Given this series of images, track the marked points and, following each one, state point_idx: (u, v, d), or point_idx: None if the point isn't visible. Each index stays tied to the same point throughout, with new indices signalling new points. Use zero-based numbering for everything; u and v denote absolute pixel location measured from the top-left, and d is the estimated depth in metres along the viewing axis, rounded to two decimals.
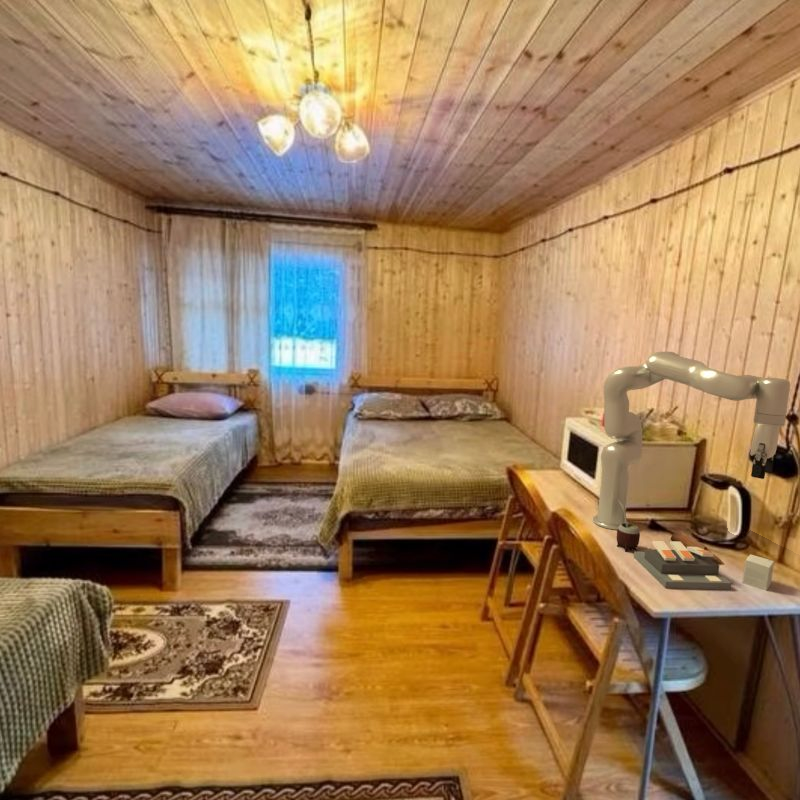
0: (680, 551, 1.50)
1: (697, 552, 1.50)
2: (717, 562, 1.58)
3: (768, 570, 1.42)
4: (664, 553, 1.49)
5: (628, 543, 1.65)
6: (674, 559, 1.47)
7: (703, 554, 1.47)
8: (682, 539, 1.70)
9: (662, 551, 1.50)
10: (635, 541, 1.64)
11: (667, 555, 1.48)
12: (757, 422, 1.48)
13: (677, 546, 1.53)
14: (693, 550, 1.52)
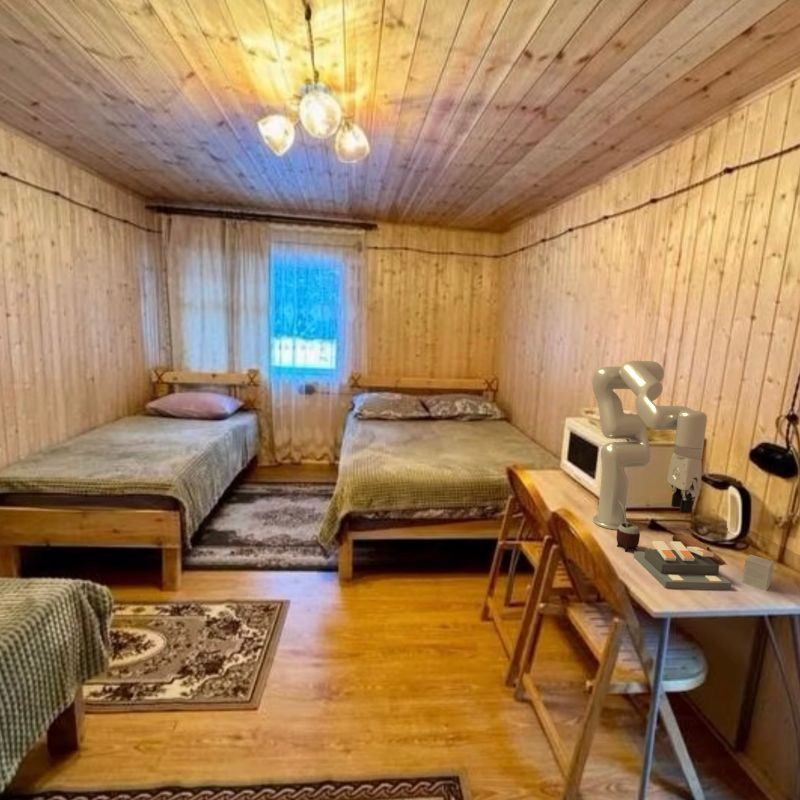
0: (680, 551, 1.50)
1: (697, 552, 1.50)
2: (720, 562, 1.58)
3: (768, 570, 1.42)
4: (664, 553, 1.49)
5: (628, 543, 1.65)
6: (674, 559, 1.47)
7: (703, 554, 1.47)
8: (684, 539, 1.70)
9: (662, 551, 1.50)
10: (635, 541, 1.64)
11: (667, 555, 1.48)
12: (686, 456, 1.47)
13: (677, 546, 1.53)
14: (693, 550, 1.52)
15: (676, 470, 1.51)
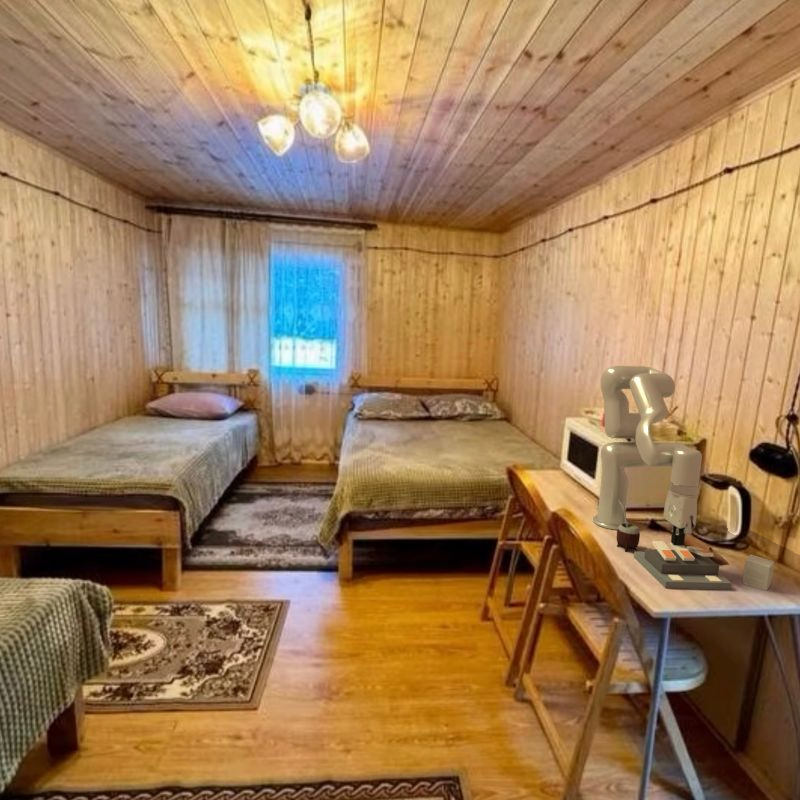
0: (680, 551, 1.50)
1: (697, 552, 1.50)
2: (722, 562, 1.58)
3: (768, 570, 1.42)
4: (664, 553, 1.49)
5: (628, 543, 1.65)
6: (674, 559, 1.47)
7: (703, 554, 1.47)
8: (686, 539, 1.70)
9: (662, 551, 1.50)
10: (635, 541, 1.64)
11: (667, 555, 1.48)
12: (681, 494, 1.48)
13: (677, 546, 1.53)
14: (693, 550, 1.52)
15: (672, 507, 1.52)
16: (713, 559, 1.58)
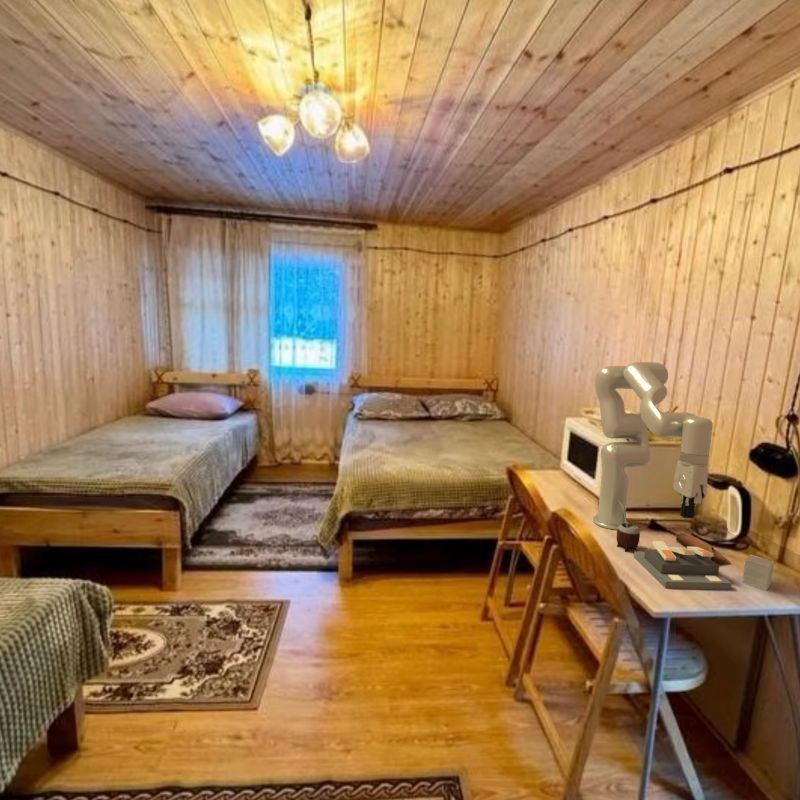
0: (680, 549, 1.50)
1: (697, 552, 1.50)
2: (725, 562, 1.58)
3: (768, 570, 1.42)
4: (664, 553, 1.49)
5: (628, 543, 1.65)
6: (674, 559, 1.47)
7: (703, 554, 1.47)
8: (688, 539, 1.70)
9: (662, 551, 1.50)
10: (635, 541, 1.64)
11: (667, 555, 1.48)
12: (691, 463, 1.46)
13: (676, 548, 1.53)
14: (693, 550, 1.52)
15: (682, 477, 1.50)
16: (716, 559, 1.58)
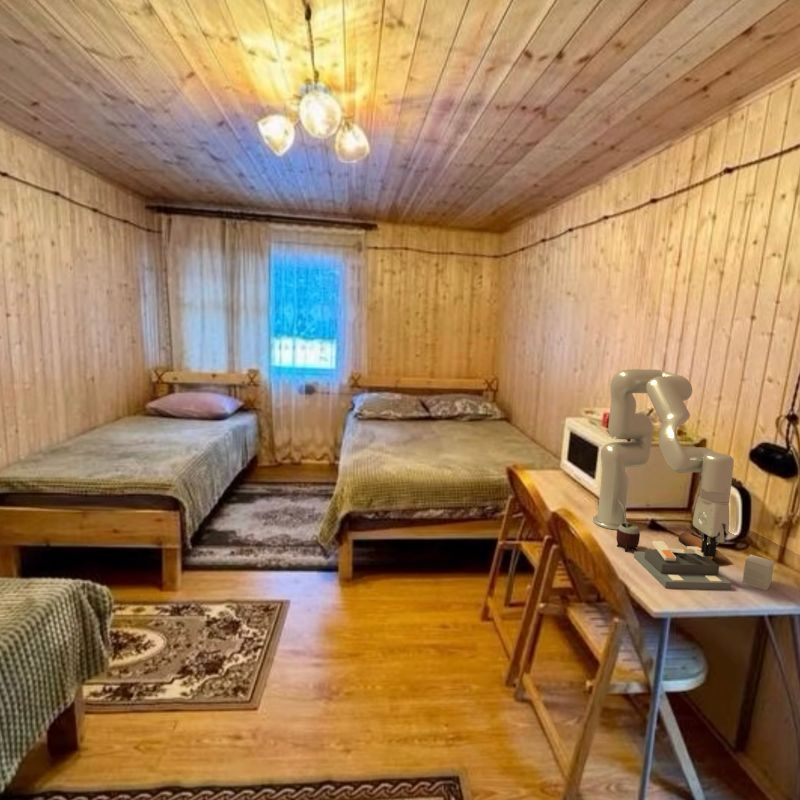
0: (679, 549, 1.50)
1: (697, 552, 1.50)
2: (726, 562, 1.58)
3: (768, 570, 1.42)
4: (664, 553, 1.49)
5: (628, 543, 1.65)
6: (674, 559, 1.47)
7: (703, 554, 1.47)
8: (690, 539, 1.70)
9: (662, 551, 1.50)
10: (635, 541, 1.64)
11: (667, 555, 1.48)
12: (713, 501, 1.42)
13: None
14: None
15: (702, 515, 1.46)
16: (717, 559, 1.58)
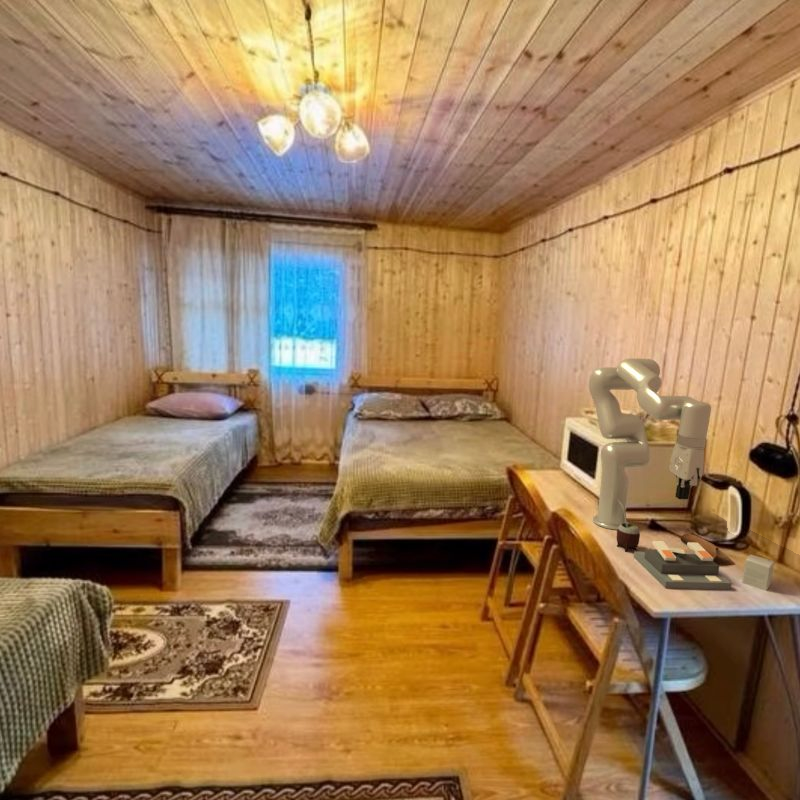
0: (680, 549, 1.50)
1: (697, 554, 1.50)
2: (729, 563, 1.58)
3: (768, 570, 1.42)
4: (664, 553, 1.49)
5: (628, 543, 1.65)
6: (674, 559, 1.47)
7: (703, 559, 1.47)
8: (692, 539, 1.70)
9: (662, 551, 1.50)
10: (635, 541, 1.64)
11: (667, 555, 1.48)
12: (689, 447, 1.48)
13: (676, 548, 1.53)
14: (693, 549, 1.52)
15: (678, 460, 1.52)
16: (720, 559, 1.58)
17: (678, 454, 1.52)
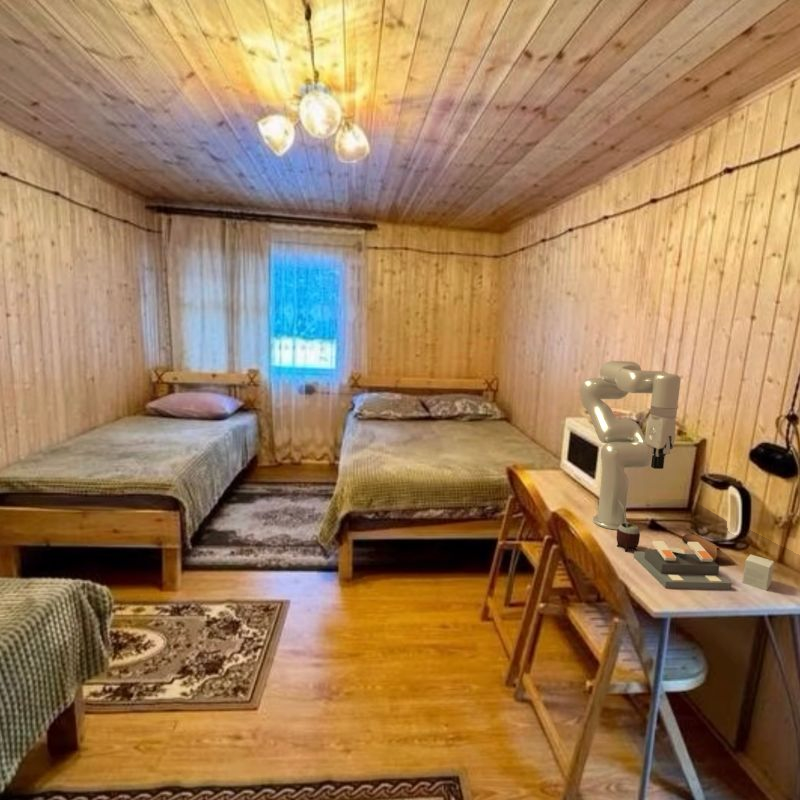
0: (680, 549, 1.50)
1: (697, 554, 1.50)
2: (730, 563, 1.58)
3: (768, 570, 1.42)
4: (664, 553, 1.49)
5: (628, 543, 1.65)
6: (674, 559, 1.47)
7: (702, 559, 1.48)
8: (693, 539, 1.70)
9: (662, 551, 1.50)
10: (635, 541, 1.64)
11: (667, 555, 1.48)
12: (660, 416, 1.56)
13: (676, 548, 1.53)
14: (693, 549, 1.52)
15: (652, 430, 1.60)
16: (721, 559, 1.58)
17: (652, 425, 1.60)
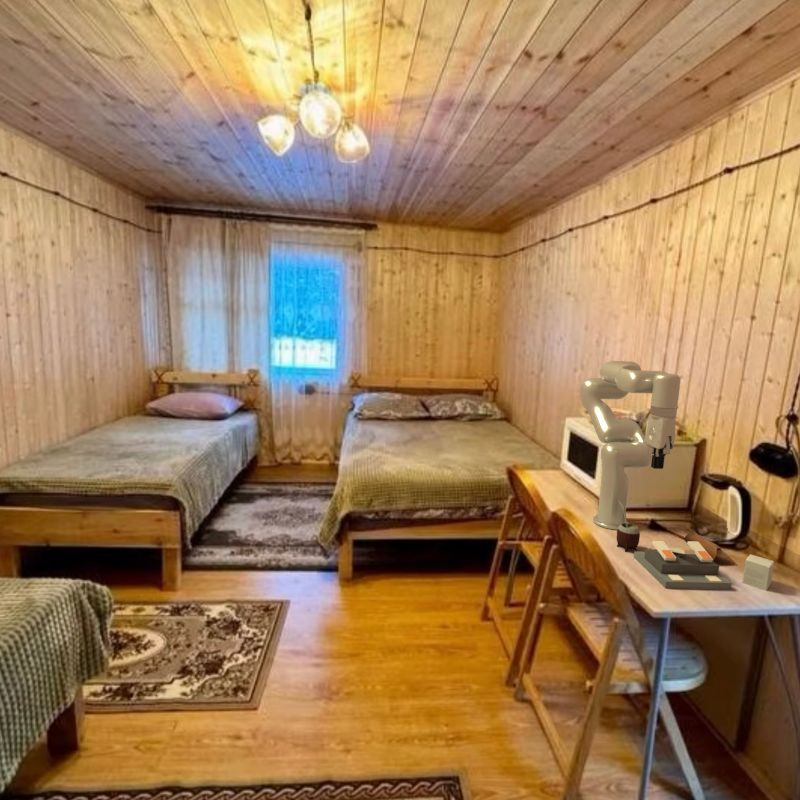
0: (680, 549, 1.50)
1: (697, 554, 1.50)
2: (730, 563, 1.58)
3: (768, 570, 1.42)
4: (664, 553, 1.49)
5: (628, 543, 1.65)
6: (674, 559, 1.47)
7: (702, 560, 1.48)
8: (695, 539, 1.70)
9: (662, 551, 1.50)
10: (635, 541, 1.64)
11: (667, 555, 1.48)
12: (660, 416, 1.56)
13: (676, 548, 1.53)
14: (693, 549, 1.52)
15: (652, 430, 1.60)
16: (720, 559, 1.58)
17: (651, 425, 1.60)
